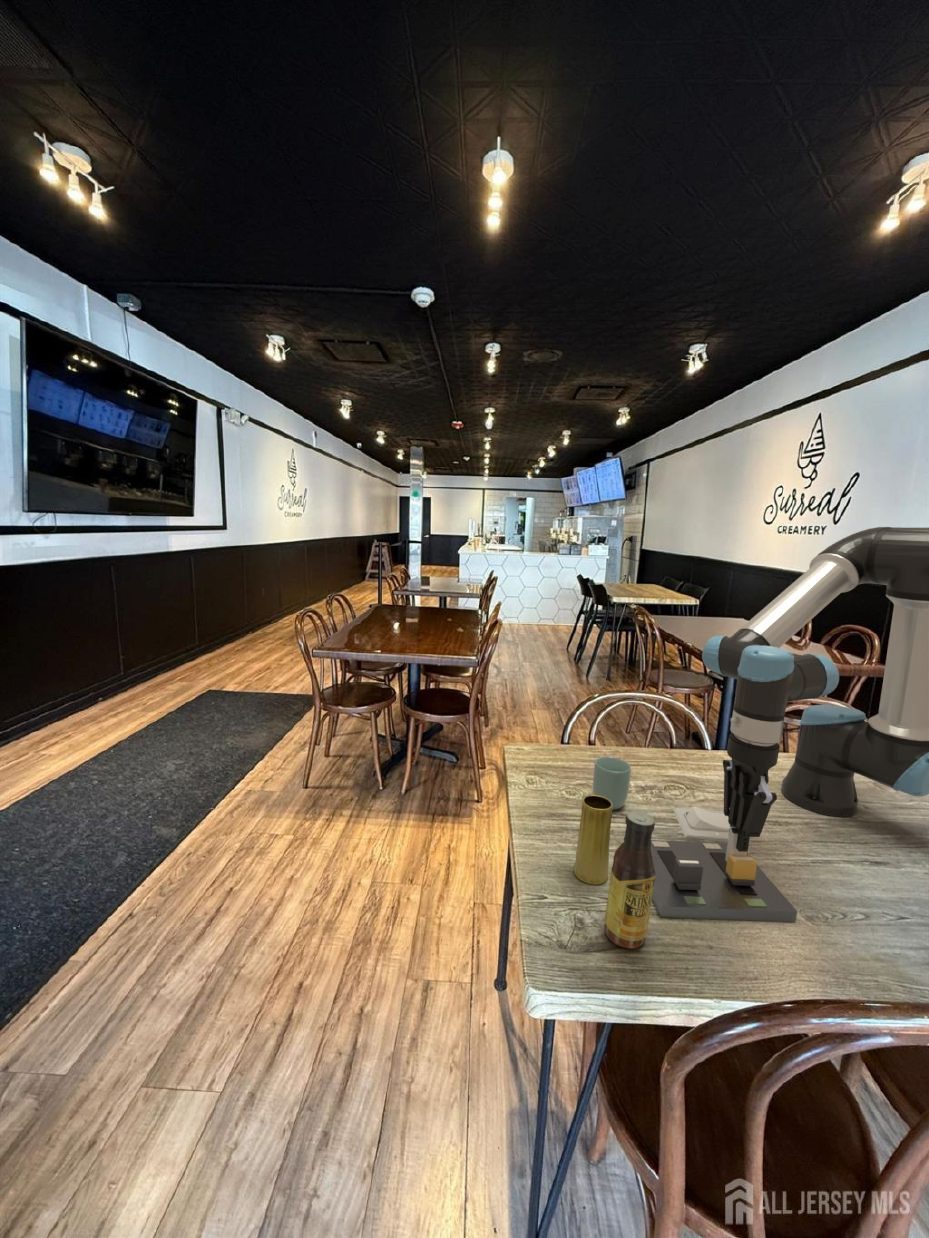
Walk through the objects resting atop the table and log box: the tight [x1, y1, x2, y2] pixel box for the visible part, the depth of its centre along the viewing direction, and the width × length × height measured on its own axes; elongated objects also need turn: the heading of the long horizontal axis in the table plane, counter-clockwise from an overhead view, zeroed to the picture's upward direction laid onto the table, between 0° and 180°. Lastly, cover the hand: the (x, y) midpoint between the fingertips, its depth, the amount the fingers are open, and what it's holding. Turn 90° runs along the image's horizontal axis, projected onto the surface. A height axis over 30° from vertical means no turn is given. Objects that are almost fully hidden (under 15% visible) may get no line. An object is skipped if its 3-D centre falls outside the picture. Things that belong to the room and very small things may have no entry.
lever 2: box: [725, 855, 758, 886], centre depth 88 cm, size 4×3×4 cm
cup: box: [592, 756, 632, 811], centre depth 115 cm, size 8×8×10 cm
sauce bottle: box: [604, 810, 656, 950], centre depth 77 cm, size 7×6×20 cm
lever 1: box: [672, 859, 703, 890], centre depth 87 cm, size 4×3×4 cm
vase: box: [573, 794, 614, 885], centre depth 91 cm, size 6×6×14 cm
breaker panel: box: [651, 839, 798, 923], centre depth 91 cm, size 22×18×2 cm
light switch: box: [673, 806, 752, 846], centre depth 109 cm, size 11×4×13 cm
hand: (734, 862), depth 90 cm, fingers closed
